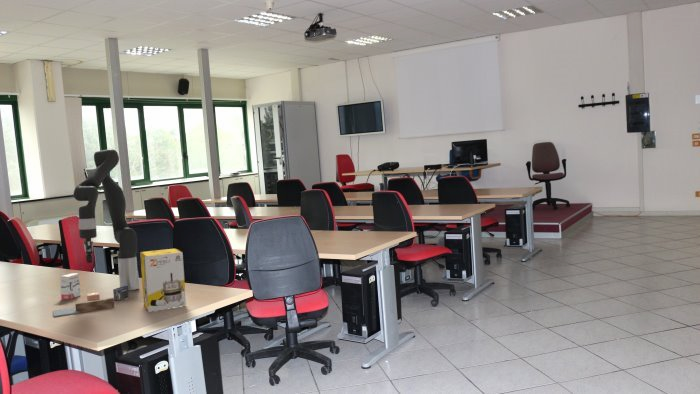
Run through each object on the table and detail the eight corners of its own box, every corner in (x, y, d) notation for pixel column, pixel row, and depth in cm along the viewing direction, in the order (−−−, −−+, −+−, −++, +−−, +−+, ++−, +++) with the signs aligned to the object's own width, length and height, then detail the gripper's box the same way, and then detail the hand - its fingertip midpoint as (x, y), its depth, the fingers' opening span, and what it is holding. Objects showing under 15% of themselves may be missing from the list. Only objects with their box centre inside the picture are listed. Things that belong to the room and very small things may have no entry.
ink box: (69, 299, 280) (67, 276, 280) (61, 299, 281) (59, 276, 281) (81, 295, 289) (79, 272, 288) (72, 295, 290) (71, 273, 289)
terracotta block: (99, 304, 266) (98, 292, 266) (100, 306, 262) (99, 293, 262) (87, 306, 264) (86, 293, 264) (88, 308, 260) (87, 295, 259)
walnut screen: (113, 306, 262) (113, 297, 261) (114, 306, 260) (113, 298, 260) (75, 312, 254) (75, 303, 254) (76, 312, 252) (75, 304, 252)
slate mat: (77, 308, 261) (77, 306, 261) (79, 313, 251) (78, 312, 251) (53, 311, 256) (53, 310, 256) (53, 317, 246) (53, 316, 246)
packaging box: (148, 312, 247) (144, 256, 245) (143, 305, 261) (140, 252, 260) (186, 306, 254) (182, 252, 253) (179, 299, 268) (176, 248, 267)
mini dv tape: (116, 301, 271) (115, 289, 271) (114, 301, 272) (113, 289, 271) (128, 297, 279) (127, 285, 279) (126, 297, 280) (125, 285, 279)
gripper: (97, 228, 261) (98, 262, 262) (95, 226, 274) (97, 259, 274) (79, 229, 258) (80, 264, 258) (78, 227, 270) (80, 260, 271)
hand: (89, 261), depth 266 cm, fingers open, 8 cm apart
